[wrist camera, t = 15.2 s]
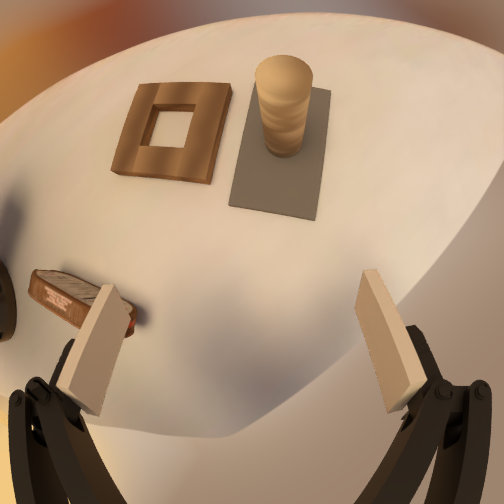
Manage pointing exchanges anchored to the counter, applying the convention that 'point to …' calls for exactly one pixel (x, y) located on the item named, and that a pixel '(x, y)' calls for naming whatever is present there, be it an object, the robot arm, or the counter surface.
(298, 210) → the mat
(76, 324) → the tin
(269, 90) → the peg
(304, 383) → the counter surface
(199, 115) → the slot block
